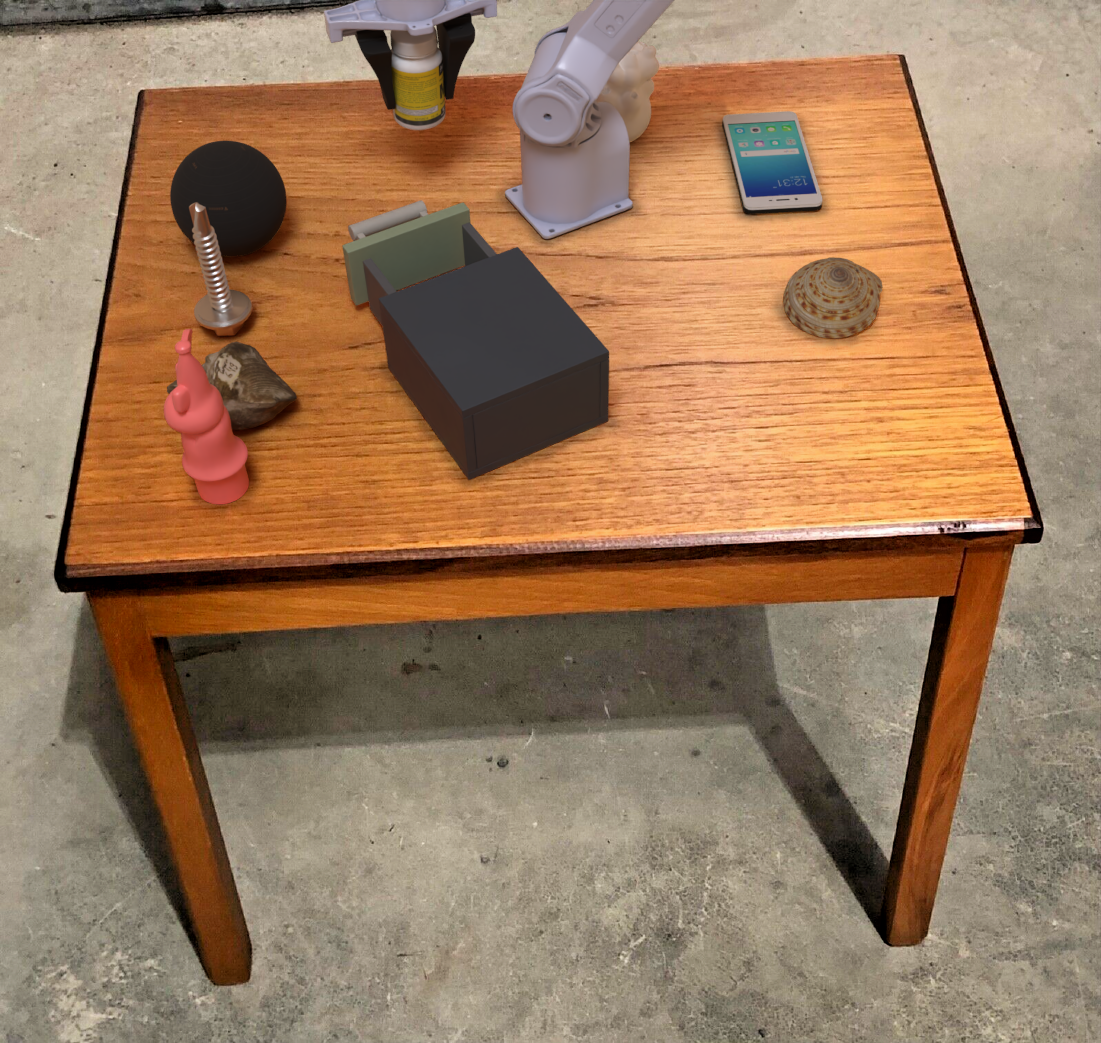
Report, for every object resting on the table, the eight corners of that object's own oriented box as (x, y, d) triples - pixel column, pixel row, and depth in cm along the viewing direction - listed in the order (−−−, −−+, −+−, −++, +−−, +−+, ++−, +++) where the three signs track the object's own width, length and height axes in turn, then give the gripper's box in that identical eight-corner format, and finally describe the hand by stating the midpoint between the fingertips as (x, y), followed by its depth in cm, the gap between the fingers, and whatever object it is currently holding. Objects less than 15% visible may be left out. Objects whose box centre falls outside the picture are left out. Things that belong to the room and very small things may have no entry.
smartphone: (796, 110, 141) (825, 203, 131) (795, 117, 141) (824, 211, 131) (720, 114, 140) (744, 208, 131) (720, 121, 141) (743, 215, 131)
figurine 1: (191, 462, 113) (146, 318, 101) (257, 458, 113) (219, 313, 101) (186, 512, 109) (139, 368, 98) (253, 506, 110) (214, 362, 98)
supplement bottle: (452, 126, 128) (448, 41, 122) (401, 136, 127) (394, 51, 121) (436, 97, 131) (431, 13, 125) (387, 107, 130) (379, 22, 124)
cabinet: (388, 368, 119) (378, 298, 113) (521, 316, 123) (517, 246, 117) (468, 480, 111) (462, 410, 105) (608, 421, 115) (609, 351, 109)
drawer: (330, 270, 126) (321, 217, 122) (446, 229, 130) (440, 175, 125) (419, 392, 116) (412, 339, 112) (542, 344, 119) (540, 290, 115)
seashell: (897, 262, 123) (879, 285, 117) (880, 323, 126) (862, 350, 119) (805, 238, 126) (783, 260, 119) (791, 299, 128) (768, 323, 122)
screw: (202, 309, 125) (258, 307, 125) (195, 347, 121) (252, 344, 121) (169, 185, 115) (230, 183, 115) (160, 223, 111) (223, 220, 112)
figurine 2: (669, 144, 139) (674, 32, 130) (612, 168, 137) (614, 56, 127) (626, 111, 143) (629, -1, 134) (571, 133, 140) (570, 21, 131)
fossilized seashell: (143, 409, 113) (253, 460, 112) (162, 332, 111) (275, 384, 109) (192, 390, 120) (296, 438, 118) (212, 317, 118) (318, 365, 116)
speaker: (219, 295, 126) (195, 201, 118) (163, 240, 131) (137, 147, 123) (315, 248, 130) (298, 155, 122) (258, 196, 135) (238, 104, 127)
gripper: (330, -9, 113) (347, 137, 124) (506, -36, 116) (508, 109, 127) (312, -52, 118) (330, 93, 128) (482, -77, 121) (486, 66, 131)
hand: (417, 98), depth 128 cm, fingers closed on supplement bottle, 5 cm apart
